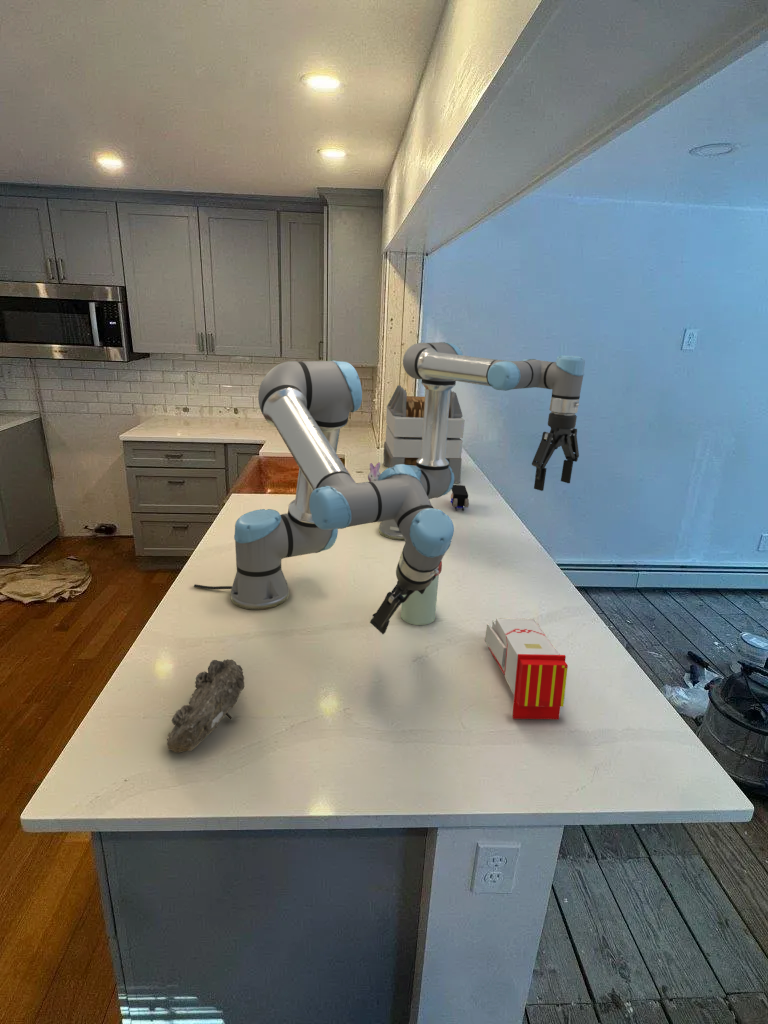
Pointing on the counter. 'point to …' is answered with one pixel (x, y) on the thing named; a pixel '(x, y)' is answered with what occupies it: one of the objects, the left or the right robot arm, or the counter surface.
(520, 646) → the toy
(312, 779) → the counter surface
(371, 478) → the figurine
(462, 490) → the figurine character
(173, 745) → the fossil
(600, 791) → the counter surface
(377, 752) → the counter surface
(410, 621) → the jar
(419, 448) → the grey slatted crate
